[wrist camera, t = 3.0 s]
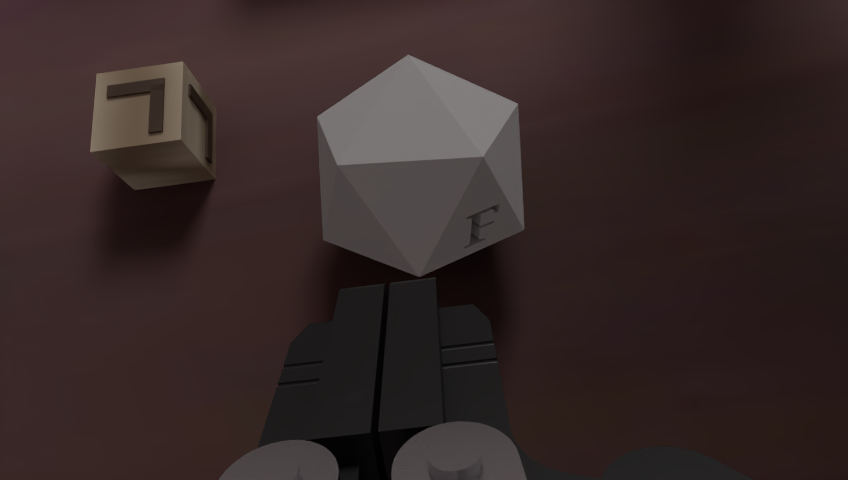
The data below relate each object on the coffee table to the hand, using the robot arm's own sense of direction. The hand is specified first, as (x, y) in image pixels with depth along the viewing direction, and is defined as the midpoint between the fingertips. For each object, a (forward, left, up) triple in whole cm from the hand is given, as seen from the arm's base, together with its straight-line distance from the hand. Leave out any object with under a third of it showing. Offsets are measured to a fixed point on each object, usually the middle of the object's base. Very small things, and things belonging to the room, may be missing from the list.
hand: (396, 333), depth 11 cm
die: (0, -10, -18) cm, 21 cm away
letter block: (+12, -15, -18) cm, 26 cm away
